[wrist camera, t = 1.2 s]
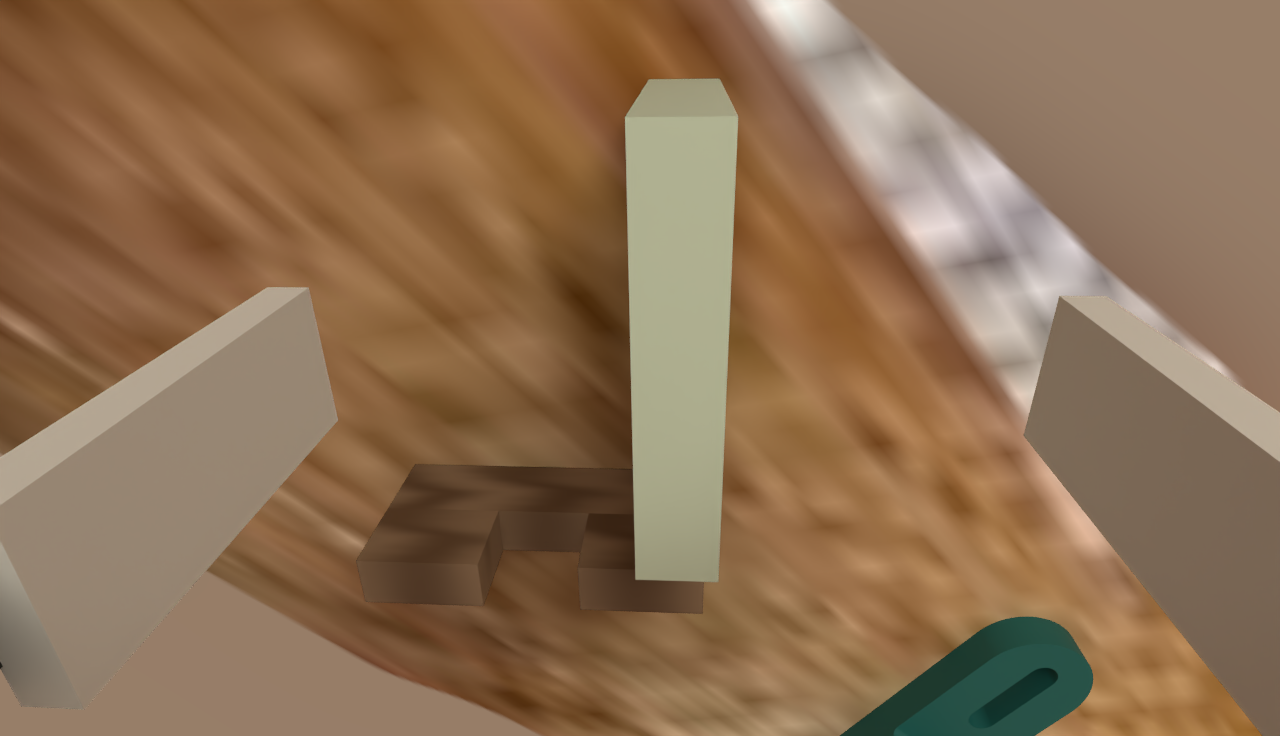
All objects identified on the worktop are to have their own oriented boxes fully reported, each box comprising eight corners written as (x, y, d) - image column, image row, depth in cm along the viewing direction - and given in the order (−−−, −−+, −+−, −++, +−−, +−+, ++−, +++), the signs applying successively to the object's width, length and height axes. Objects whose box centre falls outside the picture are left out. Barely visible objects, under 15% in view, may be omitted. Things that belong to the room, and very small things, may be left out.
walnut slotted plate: (421, 500, 42) (365, 601, 34) (415, 464, 40) (355, 560, 33) (700, 508, 41) (702, 613, 33) (701, 470, 40) (703, 571, 32)
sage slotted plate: (709, 407, 38) (718, 582, 26) (651, 406, 38) (635, 579, 26) (719, 78, 31) (738, 116, 19) (649, 79, 31) (625, 117, 19)
